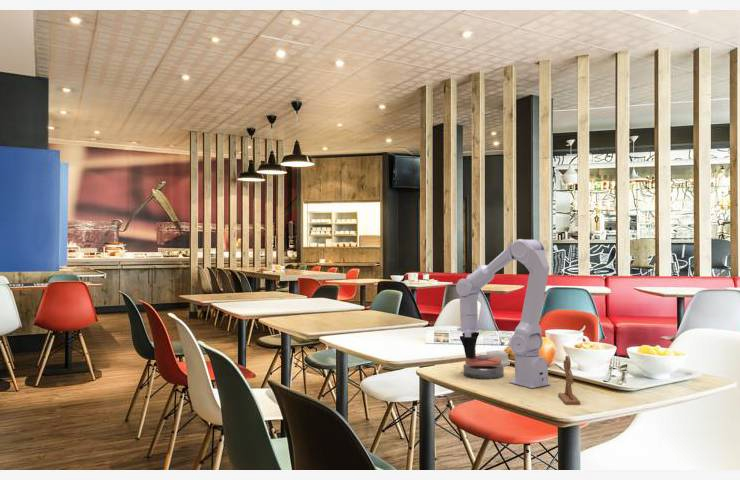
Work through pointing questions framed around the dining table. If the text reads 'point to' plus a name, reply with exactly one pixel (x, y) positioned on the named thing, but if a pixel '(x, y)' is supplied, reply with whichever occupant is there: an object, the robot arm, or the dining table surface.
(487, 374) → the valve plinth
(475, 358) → the handwheel
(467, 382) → the dining table surface
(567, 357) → the brown statuette
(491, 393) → the dining table surface
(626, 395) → the dining table surface
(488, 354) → the mechanical component
